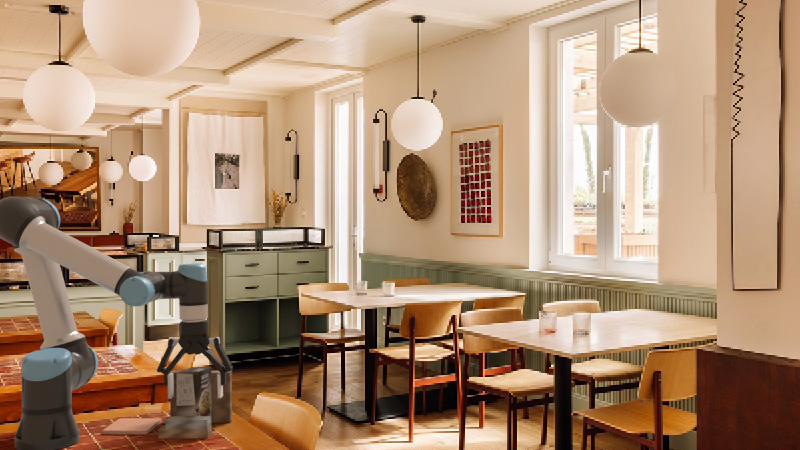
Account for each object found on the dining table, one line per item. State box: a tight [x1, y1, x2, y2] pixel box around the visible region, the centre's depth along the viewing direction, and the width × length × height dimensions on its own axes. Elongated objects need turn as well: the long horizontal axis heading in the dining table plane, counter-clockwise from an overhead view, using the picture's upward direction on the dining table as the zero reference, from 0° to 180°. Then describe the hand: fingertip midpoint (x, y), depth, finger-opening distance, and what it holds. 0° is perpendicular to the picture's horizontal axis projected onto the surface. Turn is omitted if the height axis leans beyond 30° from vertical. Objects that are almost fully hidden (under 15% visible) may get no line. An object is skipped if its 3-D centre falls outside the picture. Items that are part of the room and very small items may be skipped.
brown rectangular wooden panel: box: [169, 369, 233, 423], centre depth 218 cm, size 17×3×14 cm, turn 89°
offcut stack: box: [157, 416, 213, 439], centre depth 205 cm, size 13×4×5 cm, turn 90°
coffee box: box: [177, 366, 213, 425], centre depth 212 cm, size 9×6×16 cm
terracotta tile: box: [102, 417, 163, 435], centre depth 212 cm, size 12×12×1 cm
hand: (195, 397), depth 212 cm, fingers open, 13 cm apart
